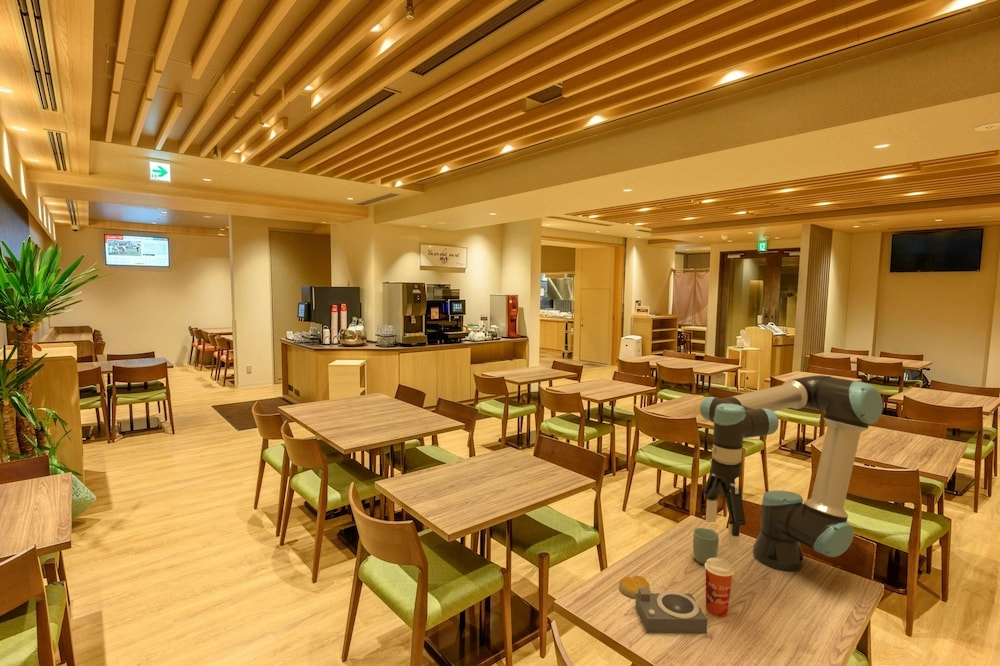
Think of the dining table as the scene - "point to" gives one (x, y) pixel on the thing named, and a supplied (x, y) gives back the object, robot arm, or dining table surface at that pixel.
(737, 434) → the robot arm
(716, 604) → the paper cup
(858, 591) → the dining table surface
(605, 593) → the dining table surface
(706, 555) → the cup
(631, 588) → the bread roll
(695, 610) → the block
